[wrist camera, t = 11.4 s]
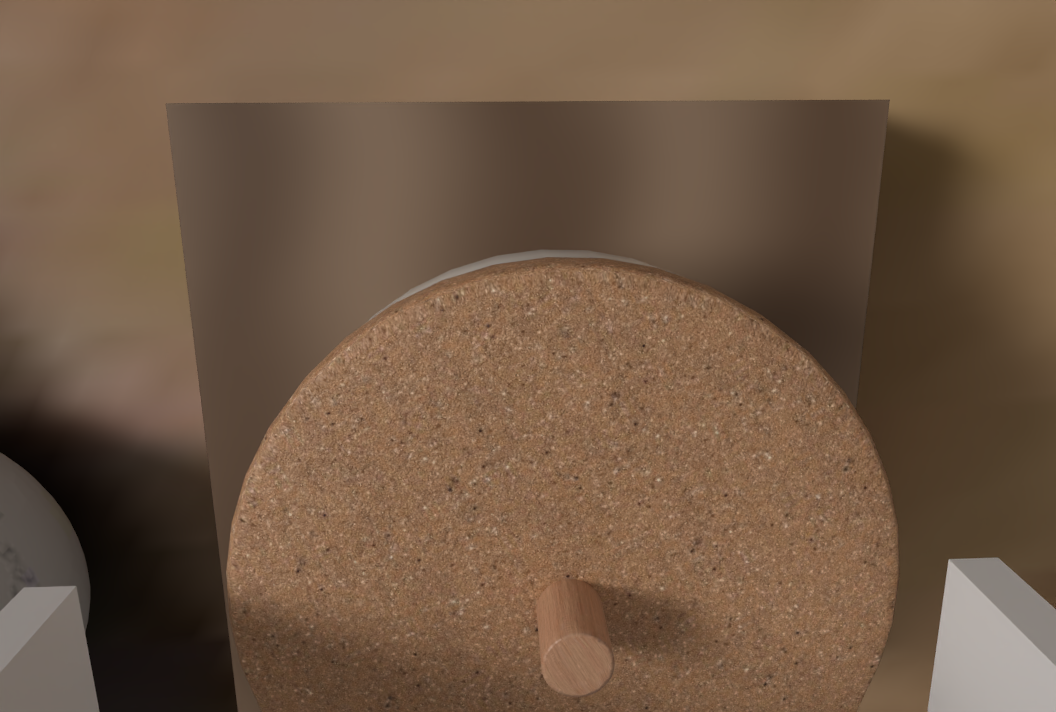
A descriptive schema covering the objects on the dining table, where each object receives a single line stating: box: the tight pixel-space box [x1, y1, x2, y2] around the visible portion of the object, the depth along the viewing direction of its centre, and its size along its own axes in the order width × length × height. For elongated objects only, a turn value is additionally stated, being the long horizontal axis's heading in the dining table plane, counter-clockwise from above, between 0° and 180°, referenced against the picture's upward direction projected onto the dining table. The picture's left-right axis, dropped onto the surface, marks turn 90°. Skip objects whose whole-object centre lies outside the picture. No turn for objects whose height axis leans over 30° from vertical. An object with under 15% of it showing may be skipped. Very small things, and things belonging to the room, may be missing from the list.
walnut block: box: [166, 100, 890, 712], centre depth 23 cm, size 16×16×5 cm
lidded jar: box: [226, 250, 900, 712], centre depth 16 cm, size 11×11×9 cm
